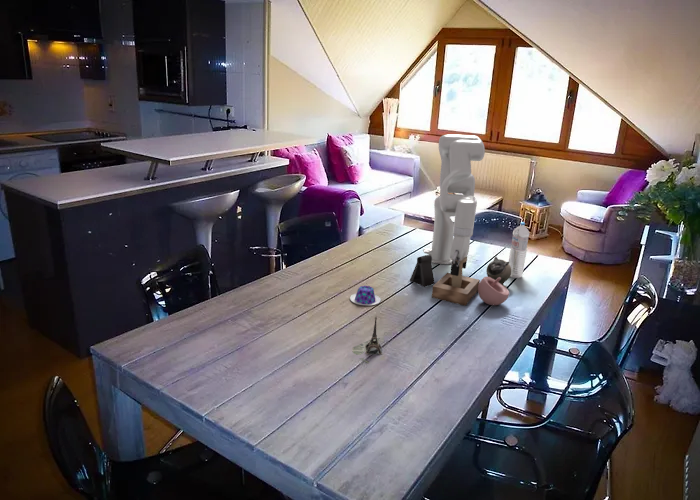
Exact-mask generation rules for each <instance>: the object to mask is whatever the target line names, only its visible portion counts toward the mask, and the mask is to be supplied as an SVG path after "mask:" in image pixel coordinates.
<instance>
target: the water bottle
mask: <svg viewBox="0 0 700 500" xmlns="http://www.w3.org/2000/svg"><path fill="white" fill-rule="evenodd" d="M519 224H520V225H518V226H517V227H516V228H514V229H513V231H512V237H511V238H512V239H511V244H510V245H511V246H510V250H509V259H508V262H509V265H510V266H511V270H512V271H511V275H510V278H513V279H521V278H522V277H523V275H524V274H523V273H524V267H525V261H526V256H527V248H528V241H529V237H530V231H529V229H528V228H527V227H526V226H525V225H526V223H525V221H522V222H520V223H519Z"/></svg>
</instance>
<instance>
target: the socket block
mask: <svg viewBox="0 0 700 500" xmlns="http://www.w3.org/2000/svg"><path fill="white" fill-rule="evenodd" d="M480 281H481V279H478V278H474V277H469V276H464V275H462V283H461V288H458V287H454V286H452V275H451V274H450V272H446V273H445V274H444V275H443V276H442V277H440V278H439V280H437V282H435V284H433V285H432V289H431V298H432V299H436V300H440V301H444V302H448V303H452V304H456V305H459V306H464V307H467V305H468V304H469V302H471V300H472V299H474V297H475V295H476V294H477V293H478V285H479V283H480Z"/></svg>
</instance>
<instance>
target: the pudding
mask: <svg viewBox="0 0 700 500" xmlns="http://www.w3.org/2000/svg"><path fill="white" fill-rule="evenodd" d="M374 290H375V289H374V287H372V286H370V285H360V287H358V289H357V291H356V293H353V294H351V296H350V297H349V300H350V301H351V302H352V303H354V304H356V305H360V306H374V305H378V304H379V303H381V301H382V299H381V297H380V296H378V295H377V294H375V291H374Z"/></svg>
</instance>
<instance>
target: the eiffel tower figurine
mask: <svg viewBox="0 0 700 500" xmlns="http://www.w3.org/2000/svg"><path fill="white" fill-rule="evenodd" d="M377 320H378V317H377V316H375V317H374V325H373V333H372V335H371V339H369V340H367V341H364V342H361V343H359V344H357V345H355V346H353V347H352V350H351V351H352V353H353V354H354V355H356V356H361V355H362V354H364V352H365V355H377V356H378V355H379V356H380V355H383V351H382V349H383V348H382V345H381V344H380V343H379V341H380V339H381V337H378V335H377ZM359 360H361V361H363V362H365V363H367V364H368V363H370V361H368V360H366V359H364V357H361V358H359Z"/></svg>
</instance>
